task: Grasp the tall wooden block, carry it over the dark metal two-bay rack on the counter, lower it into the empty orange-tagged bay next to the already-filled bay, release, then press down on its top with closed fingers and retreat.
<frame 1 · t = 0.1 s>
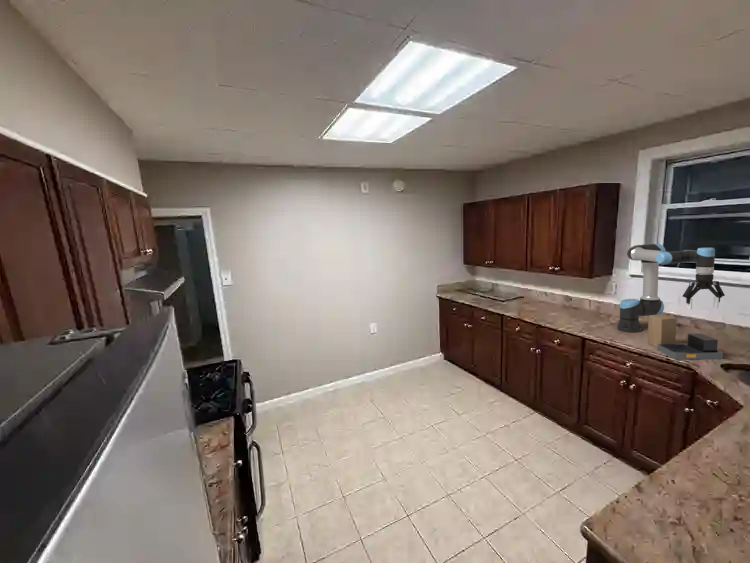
hand: (702, 308, 198), 28 cm above the countertop, fingers open, 13 cm apart
rack: (688, 354, 201), on the countertop
wooden block: (661, 345, 217), on the countertop
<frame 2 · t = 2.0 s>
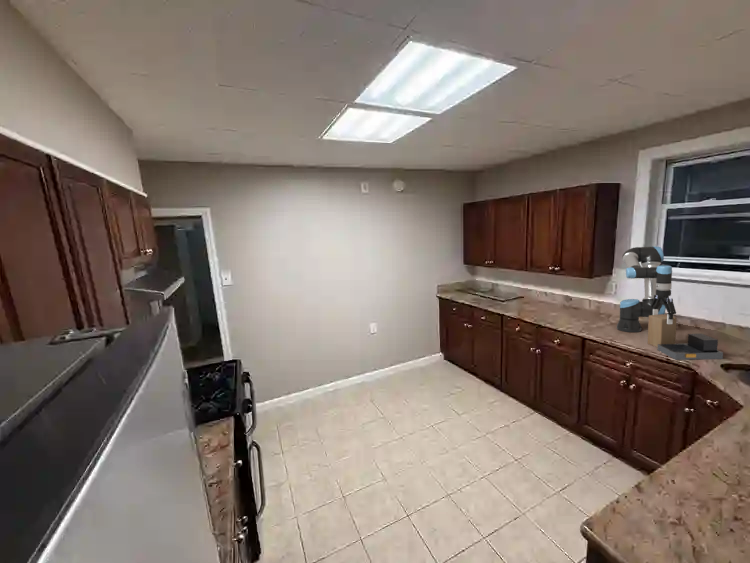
hand: (662, 321, 214), 17 cm above the countertop, fingers open, 13 cm apart
nothing on the countertop moved.
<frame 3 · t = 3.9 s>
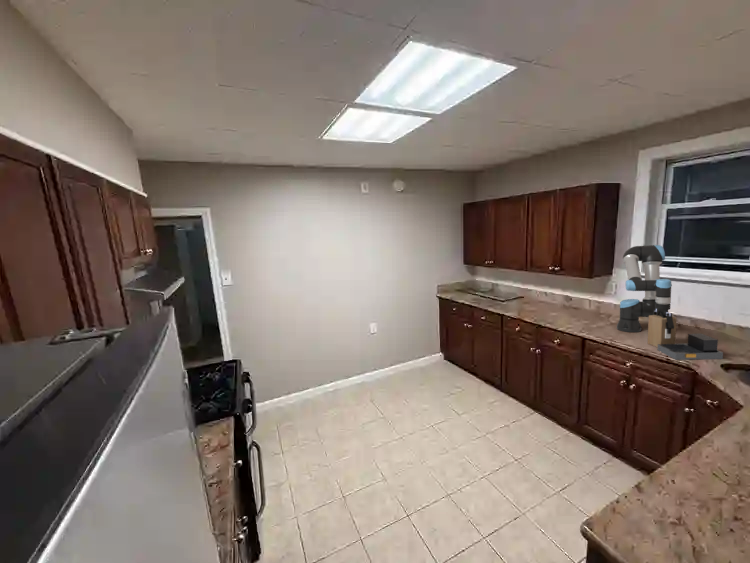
hand: (661, 335, 216), 7 cm above the countertop, fingers closed on wooden block, 11 cm apart
wooden block: (661, 345, 217), on the countertop, touching gripper
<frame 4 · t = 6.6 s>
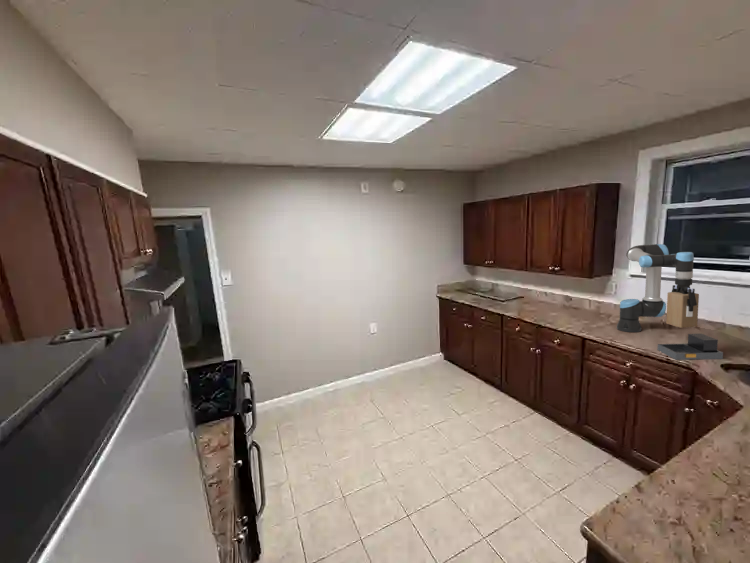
hand: (681, 314, 198), 26 cm above the countertop, fingers closed on wooden block, 11 cm apart
wooden block: (681, 325, 199), point 19 cm above the countertop, touching gripper
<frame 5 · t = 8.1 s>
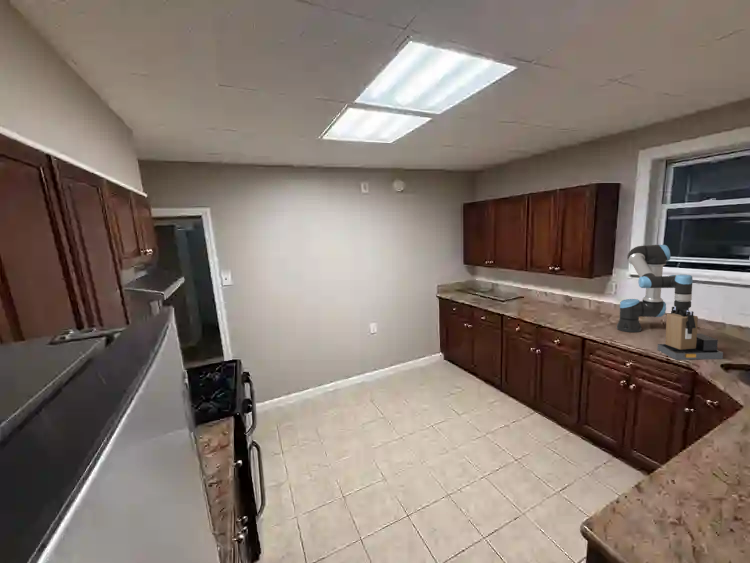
hand: (680, 335, 200), 12 cm above the countertop, fingers closed on wooden block, 11 cm apart
wooden block: (680, 346, 201), point 5 cm above the countertop, touching gripper
when the fingers open (9 cm above the countertop, at t = 9.4 s): wooden block stays where it is, resting on rack.
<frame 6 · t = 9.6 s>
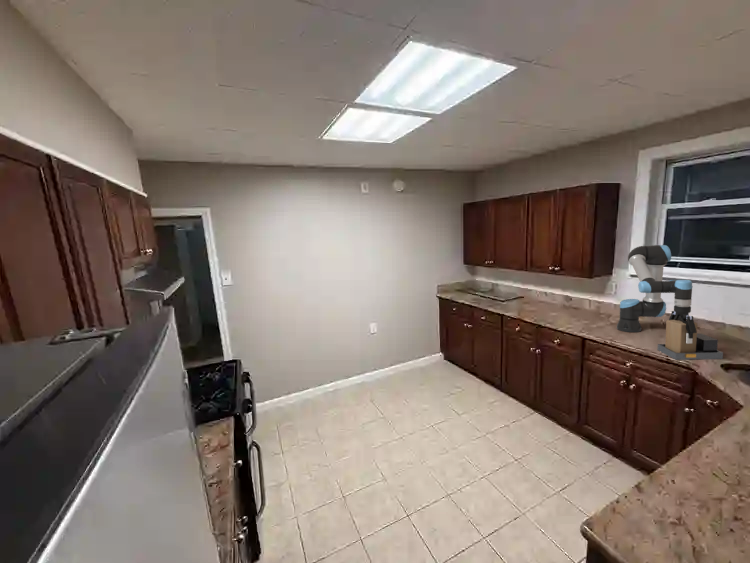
hand: (680, 339, 200), 10 cm above the countertop, fingers open, 12 cm apart
wooden block: (679, 353, 201), point 1 cm above the countertop, touching rack
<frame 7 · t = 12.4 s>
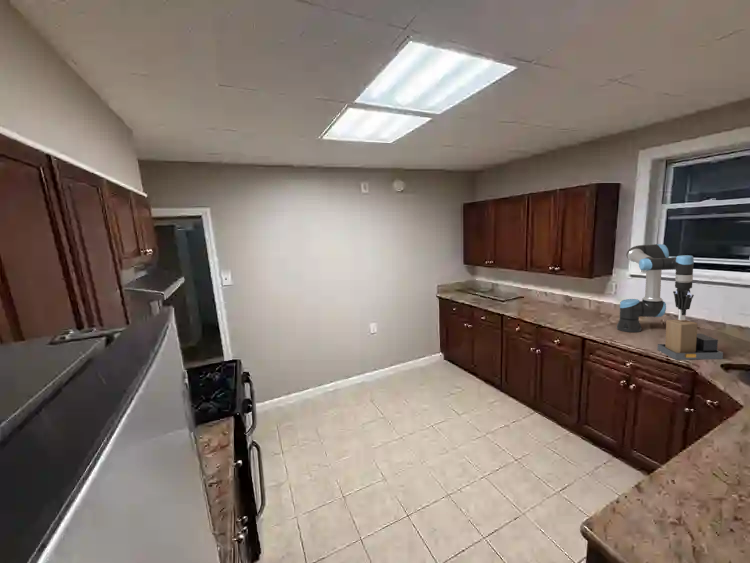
hand: (681, 319, 198), 22 cm above the countertop, fingers closed
nothing on the countertop moved.
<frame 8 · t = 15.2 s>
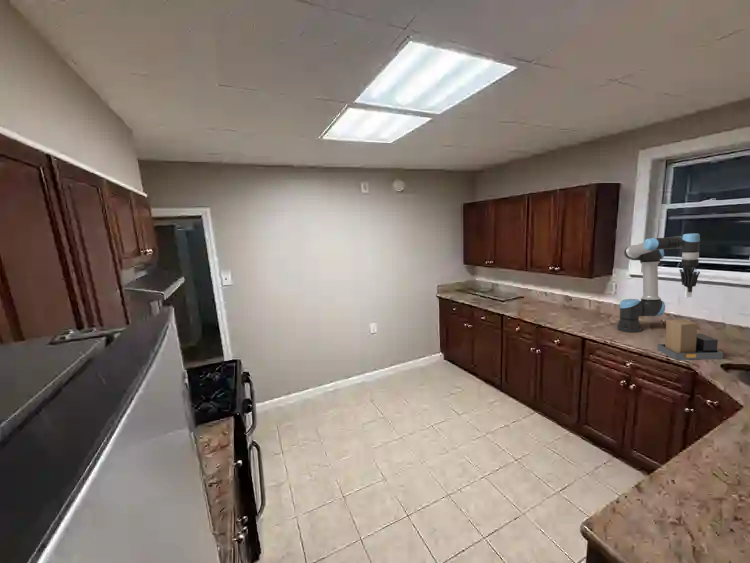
hand: (688, 297, 202), 34 cm above the countertop, fingers closed
nothing on the countertop moved.
at the end: wooden block inside the target area (0.1 cm from its centre), point 0.8 cm above the countertop; wooden block tilted 0°; the gripper is holding nothing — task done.
